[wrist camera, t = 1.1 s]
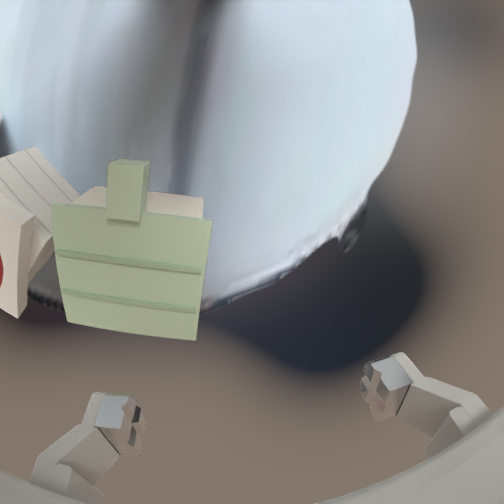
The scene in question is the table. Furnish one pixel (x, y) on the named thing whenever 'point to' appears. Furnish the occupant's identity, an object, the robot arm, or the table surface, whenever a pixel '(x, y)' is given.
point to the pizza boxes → (26, 221)
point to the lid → (130, 260)
